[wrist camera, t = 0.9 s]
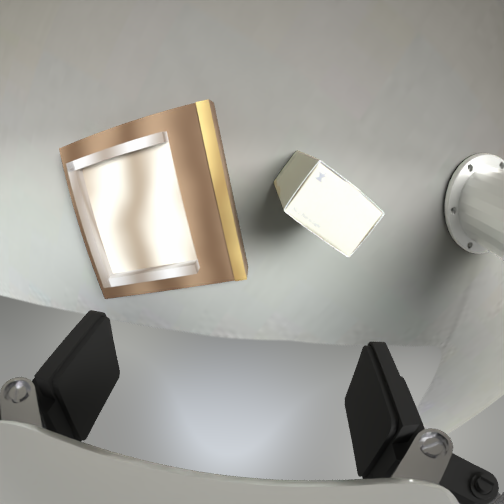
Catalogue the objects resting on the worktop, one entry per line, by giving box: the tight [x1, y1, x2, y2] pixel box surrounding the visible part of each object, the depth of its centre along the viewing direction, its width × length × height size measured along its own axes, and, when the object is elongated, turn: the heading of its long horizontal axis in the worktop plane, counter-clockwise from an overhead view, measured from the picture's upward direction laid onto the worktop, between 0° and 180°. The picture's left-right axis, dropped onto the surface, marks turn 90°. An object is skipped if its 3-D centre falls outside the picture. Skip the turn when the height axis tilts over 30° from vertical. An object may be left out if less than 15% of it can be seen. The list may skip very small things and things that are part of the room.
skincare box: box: [274, 150, 384, 257], centre depth 27 cm, size 6×4×12 cm
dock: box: [59, 100, 248, 299], centre depth 31 cm, size 17×18×4 cm
